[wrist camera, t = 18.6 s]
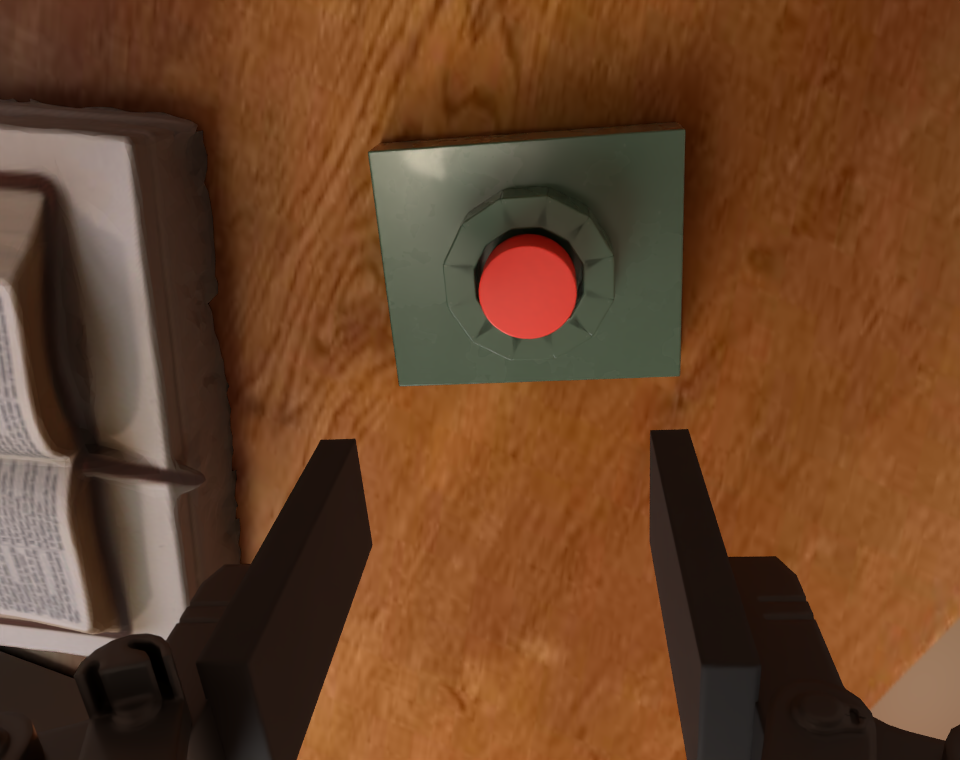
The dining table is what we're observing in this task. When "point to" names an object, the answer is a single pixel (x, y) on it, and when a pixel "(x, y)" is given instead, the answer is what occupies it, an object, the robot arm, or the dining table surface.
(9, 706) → the coffee maker
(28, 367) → the bible
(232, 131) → the dining table surface
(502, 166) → the base
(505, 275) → the button
